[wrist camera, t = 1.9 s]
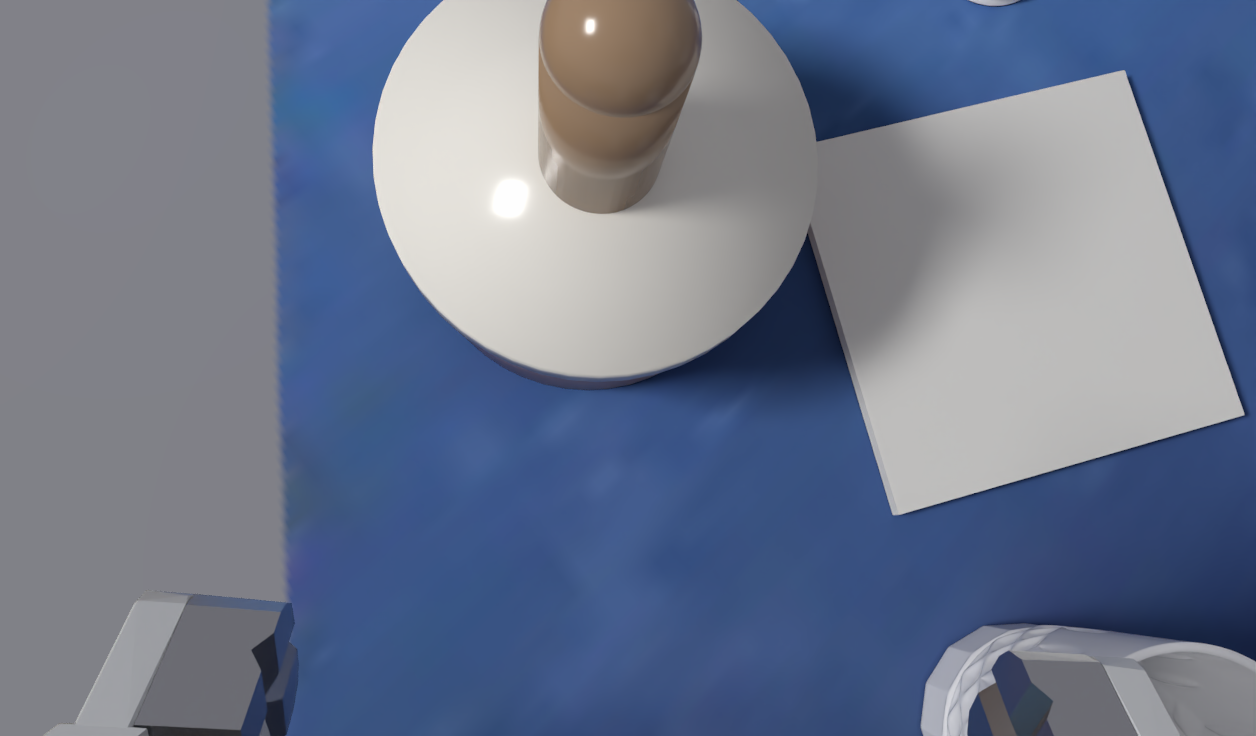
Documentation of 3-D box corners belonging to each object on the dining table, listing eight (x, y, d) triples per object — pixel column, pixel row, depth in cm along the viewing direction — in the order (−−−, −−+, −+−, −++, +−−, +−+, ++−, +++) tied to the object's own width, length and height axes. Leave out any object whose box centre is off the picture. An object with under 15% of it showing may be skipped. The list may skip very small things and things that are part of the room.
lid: (738, -62, 31) (835, -334, 21) (855, 322, 30) (1019, 225, 20) (337, 20, 30) (234, -233, 20) (438, 431, 28) (384, 386, 18)
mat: (1115, 76, 39) (1124, 70, 38) (1233, 416, 37) (1244, 415, 37) (784, 154, 37) (787, 148, 36) (892, 514, 35) (898, 514, 35)
